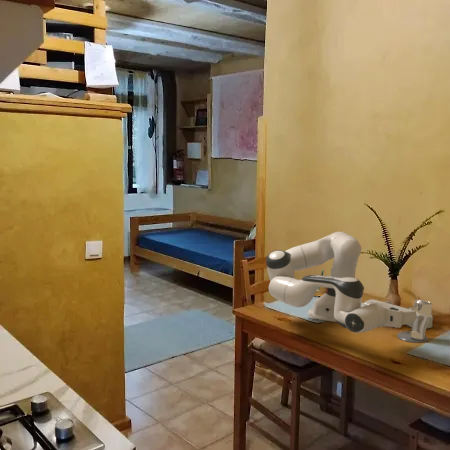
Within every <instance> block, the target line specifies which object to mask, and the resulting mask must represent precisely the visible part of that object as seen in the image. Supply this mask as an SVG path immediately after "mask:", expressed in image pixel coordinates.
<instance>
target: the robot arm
mask: <svg viewBox="0 0 450 450" xmlns="http://www.w3.org/2000/svg"><path fill="white" fill-rule="evenodd" d="M361 254H362V246H361V244H360V242H359V240H358V239H357V238H356V237H354V236H353V235H350V234H348V233H346V231H345V232H344V231H335V232H334V231H333V232H332V233H331V234H328V235H326V236H324V237H321V238H320V239H317V240H313V241H311V242H306V243H303V244H300V245H296V246H294V247H290V248H289V249H287V250H283V249H282V250H281V249H277V250H276V249H275V250H273V251H271V252H270V253H268V254H267V256H266V258H265V265H266V268H267V274H268V278H269V280H270V282H269V283H268V292H269V294H270V296H271V297H273V298H274V299H276V300H277V301H279V302H281V303H284V304H285V305H289V306H291V307H295V308H302V307H306V306H307V305H308V304H309V303H310V302H311V301H313V299H314V298H315V297H314V294H315V292H316V291H318V289H319V288H318V287H320V288H325V289H326V293H325V294H324V295H322V296H320V297H318V298H317V299H315V301H314V302H313V306H312V308H310V309H309V310H307V311H308V312H307V317H308V318H310V319H311V320H317V319H318V320H319V321H325V322H326V321H327V322H334V323H337V324H339V326H341V327H342V328H345V329H347V330H349V332H352V333H355V334H357V333H358V334H359V333H366V332H369V331H373V330H375V329H376V328H380V327H385V328H386V327H390V328H396V329H397V328H399V329H400V328H402V326H403V325H405V326H407V325H406V324H409V323H412V322H414V321H415V320H416V311H415V310H413V307H411V306H409V307H403V306H400V305H396V304H393V303H392V302H391V301H381V300H377V299H373V298H371V299H368V300H366V301H363V304H362V299H363V295H364V291H365V286H364V285H363V283H362V282H361V280H360V279H359V278H356V270H357V267H358V266H357V265H358V261H359V256H361ZM332 259H333V260H332ZM329 260H332V261H333V262H332V265H331V268H330V275H329V276H328V275H323V276H321V274H309V275H304V276H303V277H302V278H301V279H297V278H295V272H298V271H302V270H306V269H310V268H313V267H317V266H321V265H323V264H325V263H326V262H328V261H329ZM318 320H317V321H318Z"/></svg>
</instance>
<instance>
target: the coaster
mask: <svg viewBox="0 0 450 450" xmlns="http://www.w3.org/2000/svg"><path fill="white" fill-rule="evenodd" d="M410 331H411V330H410ZM410 331H406V330H405V331H400V332H398V333H397V334H396V336H397V338H398V339H399V340H401V341H403V342H408V343H412V344H422V343H427V342H428V341H429V337H428V336H427V335H426V334H425V339H424V340H418V339H414V338H412V337H410V336H409V334H410Z"/></svg>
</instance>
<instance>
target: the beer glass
mask: <svg viewBox="0 0 450 450" xmlns="http://www.w3.org/2000/svg"><path fill="white" fill-rule="evenodd" d="M412 308H413V310H415V311H416V320H415V321H414V322H412V327H411V329H410V334H409V336H410V337H412V338H414V339H418V340H424V339H425V335H426V330H427V329H426V327H427V324H428V322H429V319H430V316H431V315H432V308H433V303H432V302H430V301H428V300H425V299H415V300H414V303H413V307H412Z"/></svg>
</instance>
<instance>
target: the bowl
mask: <svg viewBox="0 0 450 450" xmlns="http://www.w3.org/2000/svg"><path fill="white" fill-rule="evenodd" d="M433 320H434V316H433V314H431V316H430V319H429V322H428V324H427V327H426V330H427V329H429V328H433ZM405 326H408V327H411V328H412V323H409V324H406V325H405Z"/></svg>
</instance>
